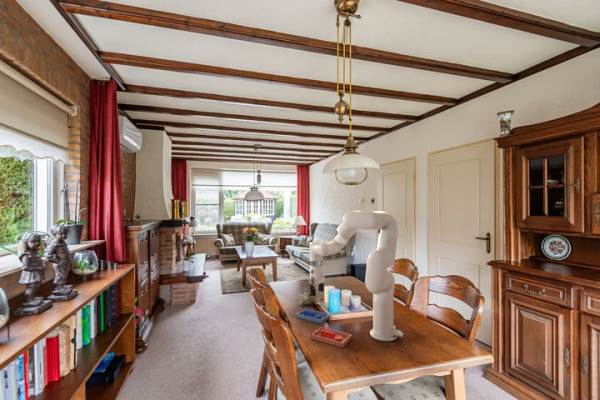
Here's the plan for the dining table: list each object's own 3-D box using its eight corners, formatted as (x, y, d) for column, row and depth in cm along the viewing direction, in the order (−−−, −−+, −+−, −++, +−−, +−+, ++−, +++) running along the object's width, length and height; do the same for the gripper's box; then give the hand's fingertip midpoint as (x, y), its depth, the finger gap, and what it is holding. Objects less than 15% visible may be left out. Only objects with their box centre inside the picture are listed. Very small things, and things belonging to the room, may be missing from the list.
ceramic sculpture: (295, 288, 184) (316, 288, 188) (294, 302, 183) (316, 301, 187) (299, 293, 173) (322, 293, 177) (298, 308, 173) (321, 307, 177)
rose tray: (351, 338, 133) (351, 334, 133) (343, 347, 124) (343, 343, 124) (321, 330, 141) (321, 326, 142) (311, 338, 133) (311, 334, 133)
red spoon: (319, 336, 134) (319, 331, 134) (323, 333, 137) (323, 328, 137) (340, 342, 128) (340, 336, 128) (343, 339, 132) (343, 333, 132)
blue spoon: (302, 315, 160) (302, 311, 160) (306, 313, 164) (306, 309, 164) (319, 319, 154) (319, 314, 154) (322, 317, 158) (322, 312, 158)
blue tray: (330, 317, 159) (330, 313, 159) (321, 323, 150) (321, 320, 150) (305, 311, 167) (305, 308, 167) (296, 317, 159) (296, 314, 159)
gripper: (314, 266, 152) (315, 298, 151) (328, 261, 167) (329, 290, 166) (303, 265, 156) (303, 296, 155) (317, 260, 171) (318, 289, 170)
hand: (317, 293), depth 161 cm, fingers open, 9 cm apart
